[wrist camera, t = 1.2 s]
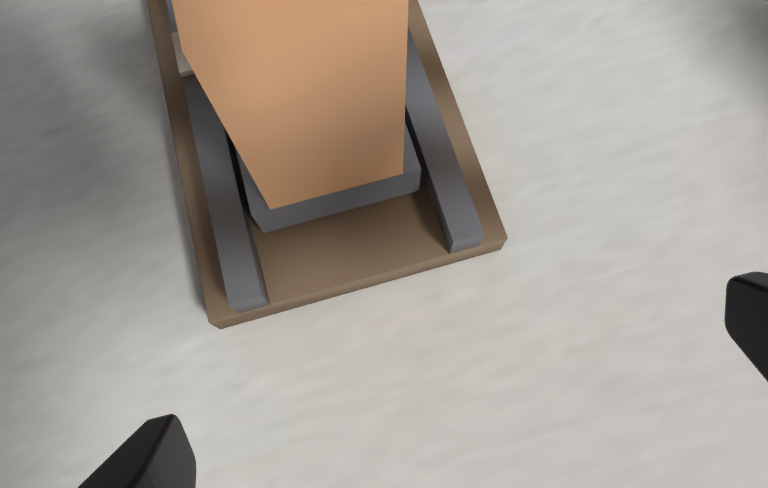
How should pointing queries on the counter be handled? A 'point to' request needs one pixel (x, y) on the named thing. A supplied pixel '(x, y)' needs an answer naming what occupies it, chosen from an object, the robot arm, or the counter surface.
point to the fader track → (333, 232)
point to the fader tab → (307, 99)
